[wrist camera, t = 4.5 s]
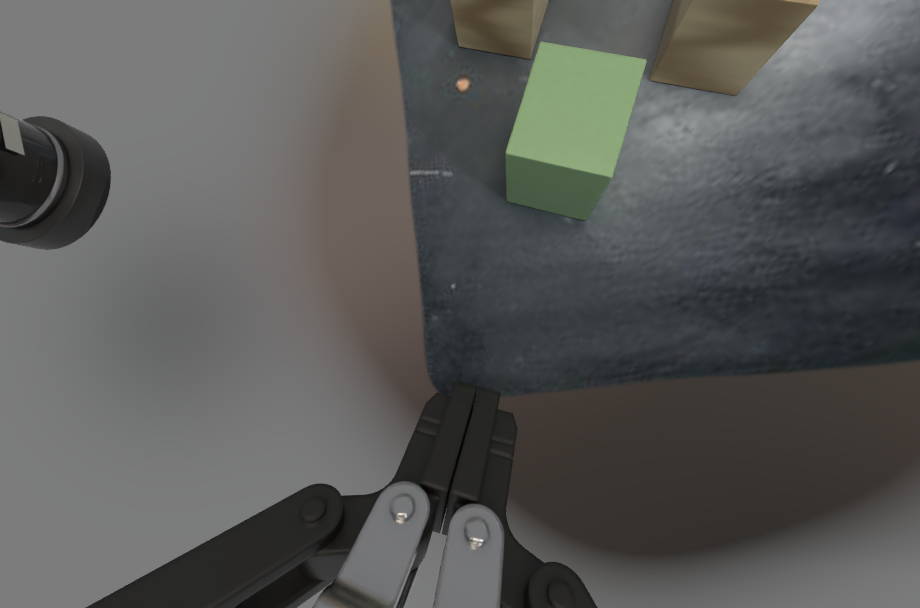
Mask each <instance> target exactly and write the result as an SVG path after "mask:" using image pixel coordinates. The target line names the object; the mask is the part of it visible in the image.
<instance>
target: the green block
mask: <svg viewBox="0 0 920 608" xmlns="http://www.w3.org/2000/svg"><path fill="white" fill-rule="evenodd" d="M646 62H647V61H646V59H641V58H635V57H629V56H623V55H617V54H611V53H606V52H600V51H594V50H588V49H582V48H576V47H570V46H564V45H558V44H552V43H546V42H540V44H539V47H538V50H537V53H536V56H535V60H534V63H533V66H532V69H531V72H530V75H529V79H528V82H527V85H526V88H525V91H524V95H523V98H522V101H521V104H520V107H519V110H518V114H517V117H516V120H515V123H514V126H513V129H512V133H511V136H510V139H509V142H508V145H507V149H506V152H505V163H506V197H507V202H511V203H515V204H519V205H524V206H528V207H532V208H536V209H540V210H544V211H548V212H552V213H556V214H560V215H564V216H568V217H572V218H576V219H580V220H584V221H586V220H587V218H588V216H589V215H590V213H591V211H592V210H593V208H594V207H595V205H596V203H597V202H598V200H599V198H600V197H601V195H602V194H603V192H604V190H605V189H606V187H607V185H608V184H609V182H610V180H611V179H612V177H613V174H614V171H615V167H616V164H617V161H618V157H619V154H620V150H621V147H622V144H623V140H624V137H625V133H626V130H627V127H628V123H629V120H630V116H631V113H632V110H633V106H634V103H635V99H636V96H637V93H638V89H639V86H640V82H641V79H642V75H643V72H644V69H645V65H646Z"/></svg>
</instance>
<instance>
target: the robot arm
mask: <svg viewBox="0 0 920 608" xmlns="http://www.w3.org/2000/svg"><path fill="white" fill-rule="evenodd" d="M69 175H70V161H69V156H68V152H67V150H66V147H65V145H64V144H63V142H62V141H61V140H60V139H59V138H58V137H57V136H56V135H55V134H53V133H52V132H49V131H47V130H45V129H43V128H41V127H39V126H36V125H33V124H29V123H27V122H25V121H23V120H20V119H18V118H16V117H14V116H12V115H9V114H7V113H5V112H3V111H1V110H0V226H2V227H6V228H11V229H23V228H27V227H30V226H33V225H35V224H37V223H39V222H40V221H42V220H43V219H45V218H46V217H47V216H48V215H49V214H50V213H51V212H52V211H53V210H54V209H55V208H56V206H57V205H58V204H59V202H60V200H61V199H62V197H63V195H64V193H65V190H66V187H67V184H68V180H69ZM477 388H478V387H477V386H474V385H470V384H466V383H463V382H459V381H456V384H455V386H454V389H453V392H452V395H451V396H448V395H445V394H441V393H436V394H435V395H434V396H433V397H432V398H431V399H430V400H429V401H428V402H426V404H425V407H424V409H423V411H422V414H421V416H420V419H419V421H418V423H417V426H416V428H415V431H414V433H413V435H412V437H411V440H410V442H409V444H408V447H407V449H406V452H405V454H404V456H403V459H402V461H401V463H400V466H399V468H398V470H397V473H396V475H395V477H394V478H393V479H392V481H391V482H390V483H389V484H388V485H387V486H386V487H385V488H383V489H381V490H380V491H377V492H375V493H372V494H367V495H350V496H341V495H340V493H339V491H338V490H336V488H334V487H333V486H330V485H327V484H314V485H310V486H308V487H306V488H303V489H302V490H300V491H298V492H296V493H294V494H293V495H291V496H289V497H287V498H285V499H283V500H282V501H280V502H278V503H276V504H274V505H273V506H271V507H269V508H267V509H265V510H263V511H262V512H260V513H258V514H256V515H254V516H252V517H250V518H249V519H247V520H245V521H243V522H241V523H240V524H238V525H236V526H234V527H232V528H231V529H229V530H227V531H225V532H223V533H221V534H219V535H218V536H216V537H214V538H212V539H210V540H209V541H207V542H205V543H203V544H201V545H199V546H198V547H196V548H194V549H192V550H190V551H189V552H187V553H185V554H183V555H181V556H179V557H177V558H176V559H174V560H172V561H170V562H168V563H167V564H165V565H163V566H161V567H159V568H157V569H156V570H154V571H152V572H150V573H148V574H147V575H145V576H143V577H141V578H139V579H137V580H135V581H134V582H132V583H130V584H128V585H126V586H124V587H123V588H121V589H119V590H117V591H115V592H114V593H112V594H110V595H108V596H106V597H104V598H103V599H101V600H99V601H97V602H95V603H93V604H92V605H90V606H88V607H86V608H297V607H298V606H300V605H301V604H302V603H303V602H305V601H306V600H308V599H309V598H311V597H312V596H313V595H315V594H316V593H318V592H319V591H320V590H322V589H323V588H324V587H326V586H327V585H329V584H330V583H332V582H333V583H332V584H331V585H329V586H327V587H326V588H325V589H324V591H323V592H322V593H321V594H320V596H319V598H318V599H317V601H316V602H315V604H314V606H313V607H312V608H405V607H406V604H407V601H408V598H409V596H410V593H411V590H412V588H413V585H414V582H415V580H416V577H417V574H418V572H419V569H420V566H421V563H422V561H423V559H424V557H425V554H426V551H427V548H428V544H429V541H430V538H431V534H432V531H434V532H437V533H440V530H441V526H442V523H443V519H444V515H445V512H446V516H445V521H444V526H443V531H442V534H444V535H447V539H446V544H445V548H444V553H443V558H442V562H441V567H440V572H439V577H438V582H437V588H436V593H435V598H434V604H433V608H597V606H596V604H595V603H594V601H593V599H592V598H591V596H590V594H589V592H588V590H587V589H586V587H585V585H584V584H583V582H582V581H581V579H580V578H579V577H578V575H577V574H576V573H575V572H574V571H573V570H572V569H570V568H569V567H567V566H565V565H563V564H561V563H557V562H547V563H544V562H542V561H541V560H540V559H538V558H537V557H536V556H534V555H533V554H532V553H530V552H529V551H528V550H526V549H525V548H524V547H523V546H522V545H520V544H519V543H518V541H517V540H516V539H515V538H514V536H513V535H512V533H511V531H510V529H509V526H508V523H507V519H506V505H507V498H508V490H509V484H510V477H511V469H512V462H513V456H514V448H515V441H516V434H517V427H516V423H515V419H514V416H513V413H509V412H505V411H502V410H498V409H497V408H498V404H499V399H500V394H501V393H500V392H496V391H492V390H489V389H485V388H481V387H479V390H478V394H477V397H476V393H477ZM475 398H476V401H475ZM474 402H475V405H474ZM473 407H474V408H473ZM446 508H447V510H446Z"/></svg>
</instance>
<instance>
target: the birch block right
mask: <svg viewBox="0 0 920 608" xmlns="http://www.w3.org/2000/svg"><path fill="white" fill-rule="evenodd" d="M819 1H820V0H673V2H672V5H671V8H670V12H669V15H668V19H667V22H666V26H665V29H664V32H663V36H662V39H661V43H660V46H659V50H658V53H657V56H656V60H655V63H654V67H653V70H652V74H651V77H650V81H656V82H661V83H667V84H673V85H678V86H684V87H690V88H695V89H701V90H706V91H712V92H718V93H723V94H729V95H735V96H736V95H737V94H738V93H739V92H740V91H741V90H742V88H743V87H744V86H745V85H746V84H747V83H748V82H749V81H750V80H751V79H752V78H753V76H754V75H755V74H756V73H757V72H758V71H759V70H760V69H761V68H762V67H763V65H764V64H765V63H766V62H767V61H768V60H769V59H770V58H771V57H772V56H773V54H774V53H775V52H776V51H777V50H778V49H779V48H780V47H781V46H782V45H783V43H784V42H785V41H786V40H787V39H788V38H789V37H790V36H791V35H792V34H793V32H794V31H795V30H796V29H797V28H798V27H799V26H800V25H801V24H802V23H803V21H804V20H805V19H806V18H807V17H808V16H809V15H810V14H811V13H812V12H813V10H814V9H815V8H816V7H817V6H818V5H819Z"/></svg>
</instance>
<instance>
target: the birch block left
mask: <svg viewBox="0 0 920 608" xmlns="http://www.w3.org/2000/svg"><path fill="white" fill-rule="evenodd" d="M450 1H451V7H452V13H453V18H454V24H455V30H456V35H457V41H458V46H459V47H464V48H470V49H475V50H481V51H487V52H492V53H498V54H503V55H509V56H515V57H520V58H526V59H531V56H532V53H533V50H534V47H535V44H536V40H537V37H538V34H539V31H540V28H541V25H542V21H543V18H544V15H545V12H546V9H547V6H548V2H549V0H450Z"/></svg>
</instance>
